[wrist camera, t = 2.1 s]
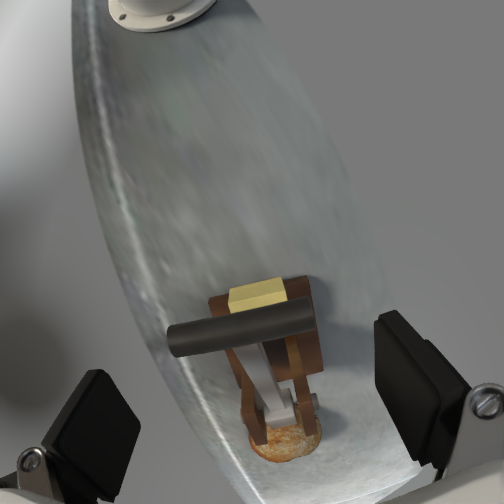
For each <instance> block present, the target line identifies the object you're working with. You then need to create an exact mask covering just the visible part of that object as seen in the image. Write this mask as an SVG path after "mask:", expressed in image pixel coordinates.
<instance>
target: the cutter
mask: <svg viewBox="0 0 504 504" xmlns="http://www.w3.org/2000/svg"><path fill="white" fill-rule="evenodd" d="M283 284H284V288H285V291H286V296H287V300H292V299H296V298H300V297H304V296H308V297H309V299H310V302H311V306H312V309H313V313H314V307H313V302H312V296H311V290H310V285H309V280H308V278H307V276H306V275H305V276H301V277H297V278H293V279H289V280H285V281H283ZM228 300H229V294H225V295H220V296H216V297H211V298H209V302H208V304H209V307H210V310H211V313H212V316H213V317H216V316H221V315H226V314H231V312H230V309H229V306H228ZM314 318H315V313H314ZM315 324H316V319H315ZM262 345H263V348H264V350H265V353H266V355H267V358H268V360H269V363H270V365H271V368H272V370H273V373H274V375H275V378H276V380H277V382H280V381H284V380H289V379H293V382H294V387H295V392H296V397H297V402H298V406H299V411H300V415H301V419H302V423H303V428H304V432H305V436H306V437H307V436H312V435H316V434H318V430H317V425H316V419H315V413H314V410H318V409H319V402H318V398H317V394H316V393H312V394H310V390H309V386H308V382H307V378H306V375H310V374H314V373H318V372H322V371H324V370H323V363H322V356H321V350H320V343H319V337H318V331H317V325H316V328H315V330H312V331H308V332H304V333H300V334H296V335H292V336H287V337H283V338H279V339H274V340H270V341H266V342H262ZM225 352H226V354H227V357H228V360H229V362H230V365H231V367H232V370H233V373H234V375H235V378H236V380H237V383H238V385H239V388H240V389H242V392H241V409H240V415H241V420H242V422H243V424H246V426H247V429H248V431H249V433H250V435H251V437H252V439H253V441H254V443H255V445H256V446H260V445H266V444H268V439H267V425H266V422H265V418H264V411H263V405H262V398H261V395H260V393H259V392H258V390H257V389H256V387H255V385H254V384H253V382H252V380H251V379H250V377H249V376H248V374H247V372H246V371H245V369H244V367H243V366H242V364H241V362H240V361H239V359H238V357H237V355H236V354H235V352H234V350H233V349H232V348H231V349H226V350H225Z"/></svg>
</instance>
